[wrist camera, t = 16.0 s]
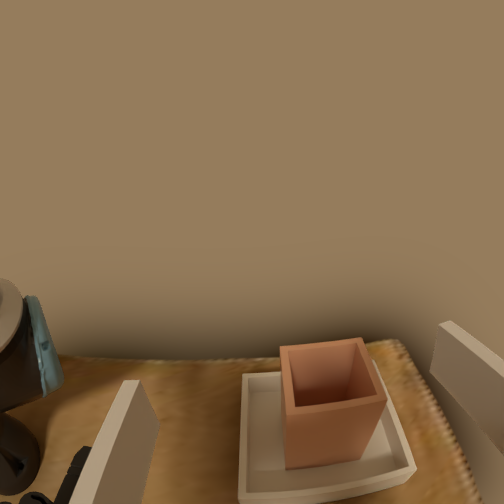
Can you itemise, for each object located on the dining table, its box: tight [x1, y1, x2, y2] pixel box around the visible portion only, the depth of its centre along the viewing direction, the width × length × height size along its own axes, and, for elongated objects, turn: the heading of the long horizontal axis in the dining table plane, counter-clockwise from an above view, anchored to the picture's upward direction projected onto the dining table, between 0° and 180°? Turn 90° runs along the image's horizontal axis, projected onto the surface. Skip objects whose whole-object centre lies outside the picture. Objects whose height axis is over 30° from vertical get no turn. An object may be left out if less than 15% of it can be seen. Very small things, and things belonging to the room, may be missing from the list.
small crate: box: [280, 337, 388, 471], centre depth 28 cm, size 9×9×13 cm
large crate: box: [238, 360, 417, 504], centre depth 30 cm, size 19×19×4 cm
